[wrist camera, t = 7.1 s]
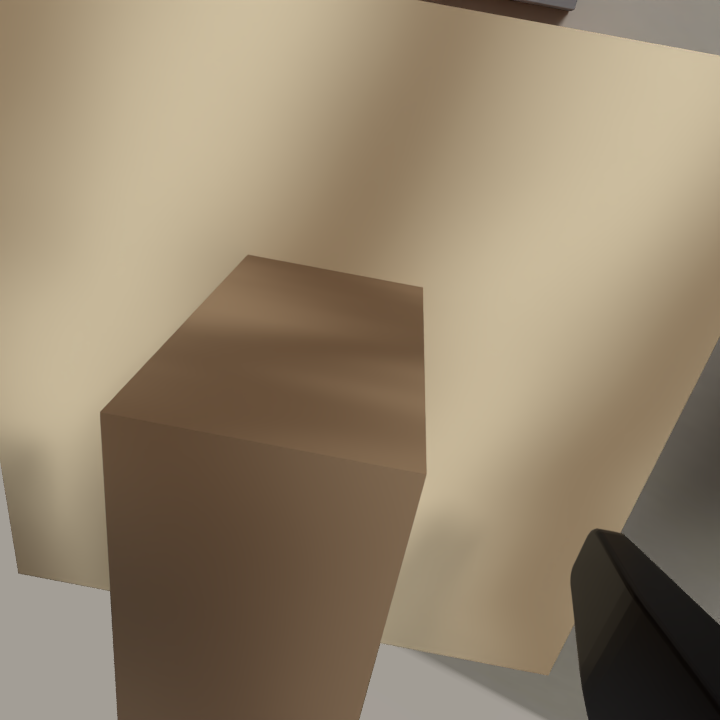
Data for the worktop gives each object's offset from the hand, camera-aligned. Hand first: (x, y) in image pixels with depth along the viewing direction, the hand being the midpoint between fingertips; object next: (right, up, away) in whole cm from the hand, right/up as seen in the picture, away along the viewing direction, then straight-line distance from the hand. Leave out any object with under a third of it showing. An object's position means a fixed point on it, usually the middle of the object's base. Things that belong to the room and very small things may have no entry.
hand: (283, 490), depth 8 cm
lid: (0, +2, +3) cm, 4 cm away
